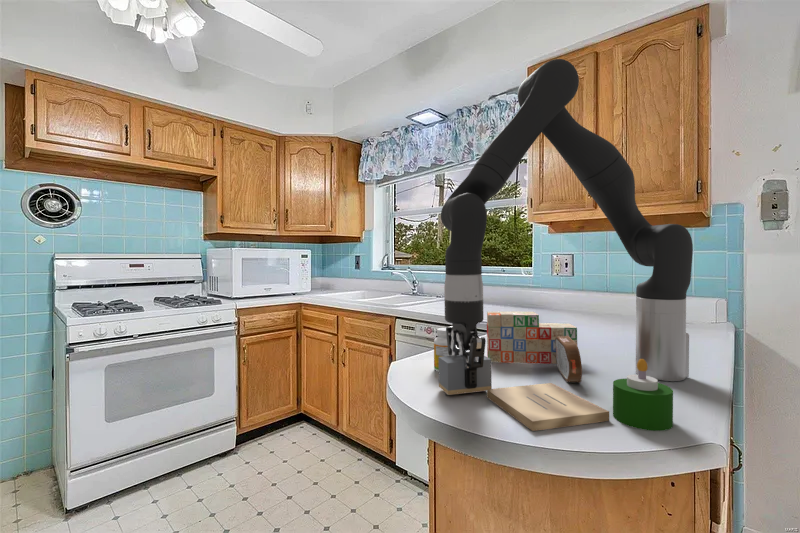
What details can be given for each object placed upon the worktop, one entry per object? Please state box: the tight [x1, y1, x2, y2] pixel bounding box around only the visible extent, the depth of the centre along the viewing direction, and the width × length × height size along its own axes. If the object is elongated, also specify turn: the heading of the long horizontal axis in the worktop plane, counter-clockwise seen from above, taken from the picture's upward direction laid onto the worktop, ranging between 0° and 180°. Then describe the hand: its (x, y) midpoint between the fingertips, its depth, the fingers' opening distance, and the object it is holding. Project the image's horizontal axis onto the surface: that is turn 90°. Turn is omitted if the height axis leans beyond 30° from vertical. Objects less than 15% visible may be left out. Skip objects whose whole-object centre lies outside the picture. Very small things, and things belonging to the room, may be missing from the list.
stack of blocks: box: [486, 310, 578, 365], centre depth 101 cm, size 21×6×12 cm, turn 81°
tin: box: [555, 336, 583, 384], centre depth 87 cm, size 15×3×8 cm, turn 168°
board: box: [486, 382, 610, 432], centre depth 69 cm, size 14×15×2 cm
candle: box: [612, 359, 674, 432], centre depth 64 cm, size 8×8×10 cm
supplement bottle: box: [433, 327, 452, 373], centre depth 92 cm, size 5×5×10 cm
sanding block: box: [438, 355, 493, 396], centre depth 77 cm, size 5×9×6 cm, turn 105°
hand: (464, 382), depth 78 cm, fingers closed on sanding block, 5 cm apart
